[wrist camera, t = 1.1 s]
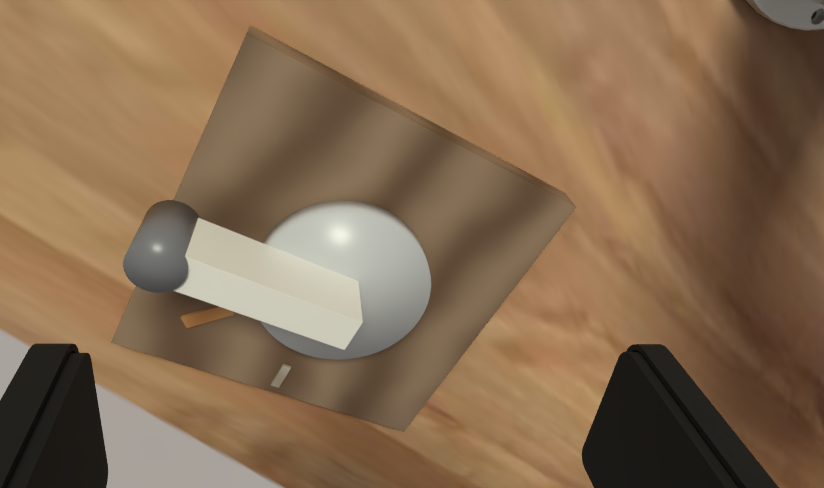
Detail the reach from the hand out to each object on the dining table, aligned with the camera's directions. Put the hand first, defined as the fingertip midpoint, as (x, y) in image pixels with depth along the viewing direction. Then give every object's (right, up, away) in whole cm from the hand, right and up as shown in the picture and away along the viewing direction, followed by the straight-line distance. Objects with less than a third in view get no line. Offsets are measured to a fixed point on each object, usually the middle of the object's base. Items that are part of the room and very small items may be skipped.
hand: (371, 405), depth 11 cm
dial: (-6, +2, +27) cm, 27 cm away
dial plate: (-4, +2, +30) cm, 30 cm away
